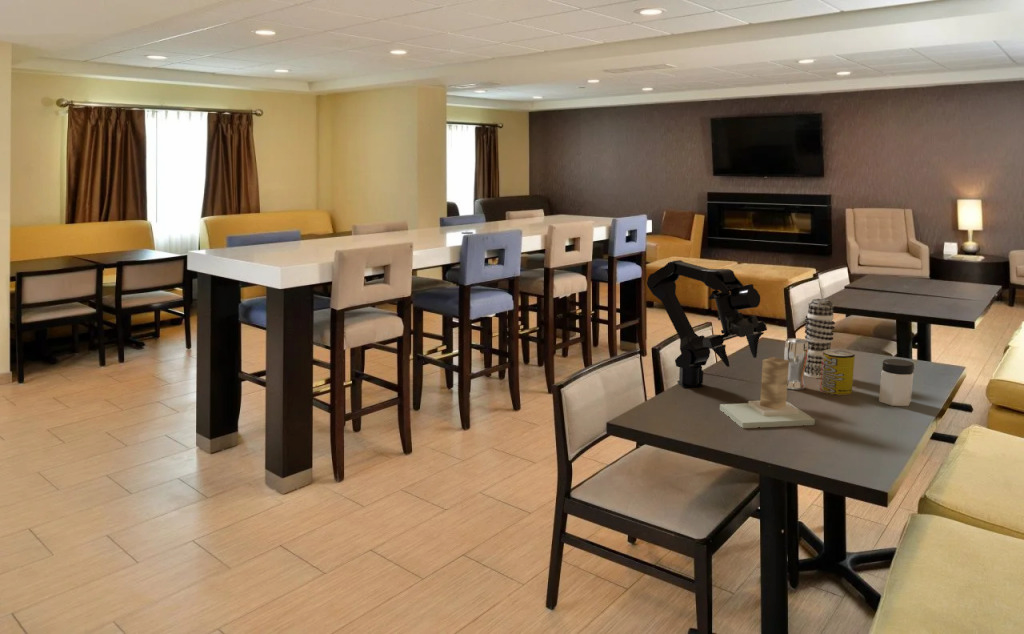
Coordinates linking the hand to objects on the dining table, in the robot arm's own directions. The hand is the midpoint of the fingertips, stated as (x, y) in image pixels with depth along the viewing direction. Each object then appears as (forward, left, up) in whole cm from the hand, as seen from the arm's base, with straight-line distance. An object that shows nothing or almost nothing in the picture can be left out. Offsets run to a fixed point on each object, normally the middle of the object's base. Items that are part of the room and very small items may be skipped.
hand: (741, 362), depth 229 cm
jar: (+43, -11, -11) cm, 45 cm away
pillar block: (+2, -17, -8) cm, 19 cm away
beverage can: (+32, +2, -11) cm, 33 cm away
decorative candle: (+35, +20, -11) cm, 41 cm away
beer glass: (+21, +7, -11) cm, 24 cm away
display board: (0, -19, -11) cm, 22 cm away
